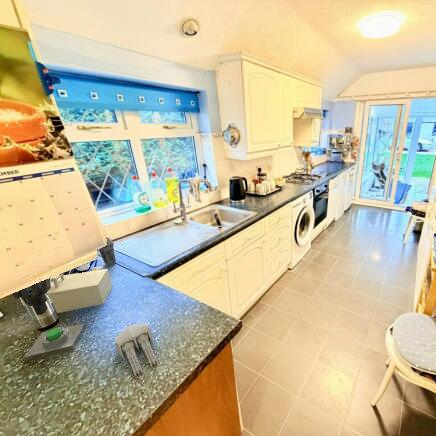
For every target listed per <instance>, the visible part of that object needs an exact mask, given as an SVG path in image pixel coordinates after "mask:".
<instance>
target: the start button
mask: <svg viewBox="0 0 436 436" xmlns="http://www.w3.org/2000/svg"><path fill="white" fill-rule="evenodd" d="M60 328H61V327H54V328H52V329H50V330H49V331H48V330H47V331H46V332H47V333H46V337H47V339H48V340H53V339H56V338H58V337H59V336H60V335H62V331H61V329H60Z"/></svg>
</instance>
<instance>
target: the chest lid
mask: <svg viewBox="0 0 436 436" xmlns="http://www.w3.org/2000/svg"><path fill="white" fill-rule="evenodd" d="M107 271H108V272H109V270H108V268H102V269H95V270H88V271H86V272H82V273H78V272H75V273H70V274H65V272H64V273H63V274H61V275H59V276H57V277H54V276H53V277H54V278H53V277H51V278H50V280H51V283H53V285H52V286H51V288H50V290H49V291H48V292H47V293H46V294H45V296H49V295H51V294H57V293H63V292H69V291H75V290H81V289H87V288H92V287H98V286H99V284H100V282H101V281H102V279H103V277H104V276H105V274H106V272H107ZM59 278H60V280H58V279H59Z"/></svg>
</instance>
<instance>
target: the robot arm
mask: <svg viewBox="0 0 436 436" xmlns="http://www.w3.org/2000/svg"><path fill="white" fill-rule="evenodd" d="M51 283H52V282H51V277H50V278H49V279H46V280H44V281H41V280H40V282H39V283H36V284H34V285H32V286H30V287H28V288H25V289H22V290H20V291H19V292H15V293H13V294H11V295H12V296H13V297H14V298H15V299H21V298H23V299H25V300H26V303H27V304H28V306H29V307H32V308H33V310H34V312H35V314H36V316H40V315H44V314H45V313H46V312H47V310H48V309H49V308H48V305H47V302H48V298H47V295H46V293H47V292H48V291H49V290H50V288H51V287H52V286H51V285H52V284H51Z"/></svg>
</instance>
